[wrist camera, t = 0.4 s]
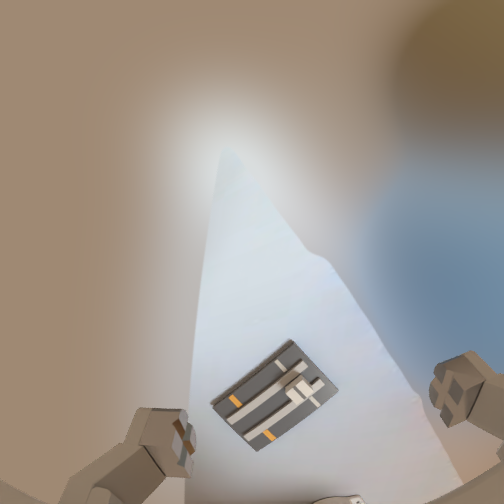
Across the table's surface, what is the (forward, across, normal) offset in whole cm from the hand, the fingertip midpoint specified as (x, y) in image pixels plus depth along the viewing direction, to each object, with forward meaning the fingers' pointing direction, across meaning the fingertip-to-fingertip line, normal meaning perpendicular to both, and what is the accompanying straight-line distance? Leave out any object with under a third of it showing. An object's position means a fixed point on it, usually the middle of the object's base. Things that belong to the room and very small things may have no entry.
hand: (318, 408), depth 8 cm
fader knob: (+37, +3, -34) cm, 51 cm away
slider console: (+38, -2, -38) cm, 54 cm away
